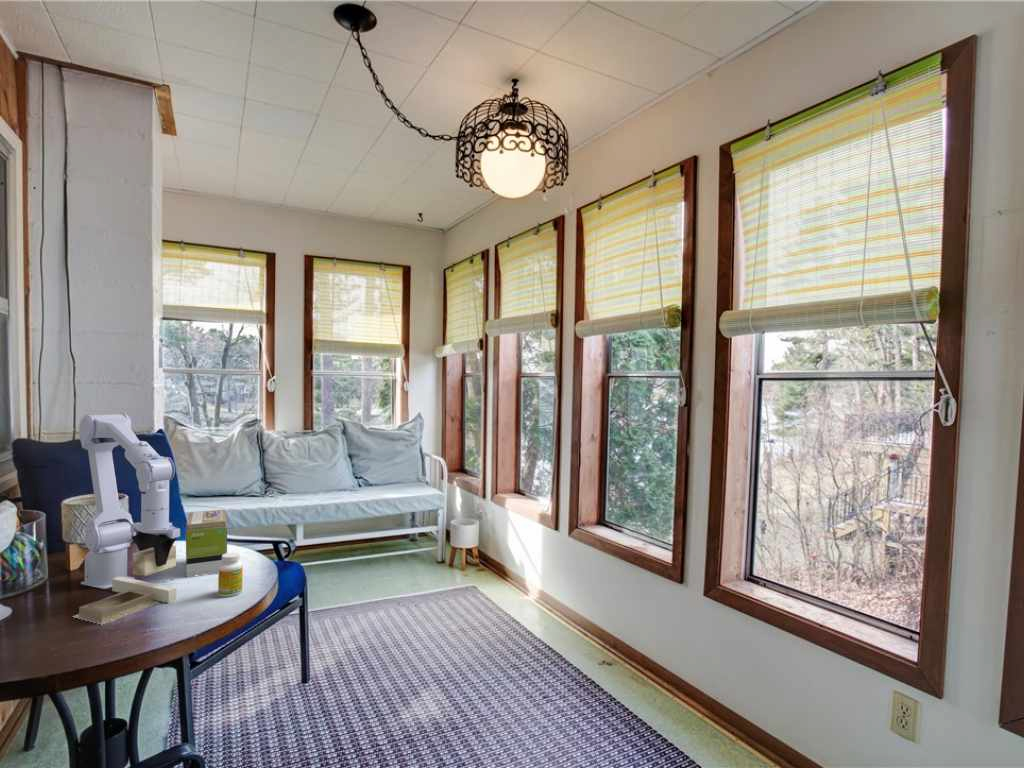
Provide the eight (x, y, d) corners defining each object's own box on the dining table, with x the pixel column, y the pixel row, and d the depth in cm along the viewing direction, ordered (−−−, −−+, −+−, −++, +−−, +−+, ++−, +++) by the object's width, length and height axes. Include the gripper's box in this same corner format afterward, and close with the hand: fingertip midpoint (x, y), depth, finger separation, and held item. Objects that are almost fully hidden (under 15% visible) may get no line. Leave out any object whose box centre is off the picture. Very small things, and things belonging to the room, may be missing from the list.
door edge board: (112, 590, 142) (112, 578, 142) (120, 588, 144) (120, 576, 144) (168, 603, 135) (168, 590, 135) (176, 600, 136) (176, 588, 136)
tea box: (188, 561, 165) (188, 511, 165) (226, 557, 170) (227, 508, 169) (185, 578, 152) (185, 523, 151) (226, 572, 156) (227, 519, 156)
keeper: (72, 617, 126) (72, 607, 126) (129, 597, 138) (130, 587, 138) (102, 625, 122) (102, 614, 122) (158, 603, 134) (158, 593, 134)
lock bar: (133, 573, 134) (133, 552, 134) (164, 563, 142) (164, 544, 142) (144, 576, 133) (145, 555, 133) (175, 565, 140) (176, 545, 140)
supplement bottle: (232, 598, 138) (232, 558, 138) (213, 596, 139) (213, 557, 139) (246, 590, 144) (247, 552, 143) (228, 588, 145) (228, 550, 145)
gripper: (191, 507, 138) (191, 562, 139) (150, 502, 144) (149, 555, 144) (164, 514, 132) (164, 571, 132) (122, 508, 137) (121, 563, 137)
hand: (154, 564), depth 137 cm, fingers closed on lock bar, 4 cm apart
